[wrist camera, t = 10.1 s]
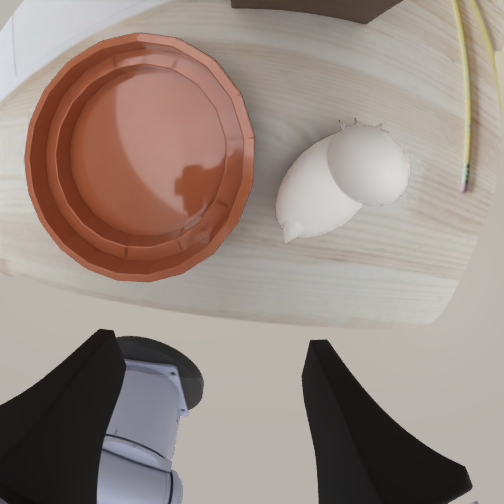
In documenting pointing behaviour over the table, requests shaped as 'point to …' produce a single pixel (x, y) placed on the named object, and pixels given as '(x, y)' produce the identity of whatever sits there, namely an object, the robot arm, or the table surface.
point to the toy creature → (340, 180)
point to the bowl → (140, 157)
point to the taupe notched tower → (326, 7)
